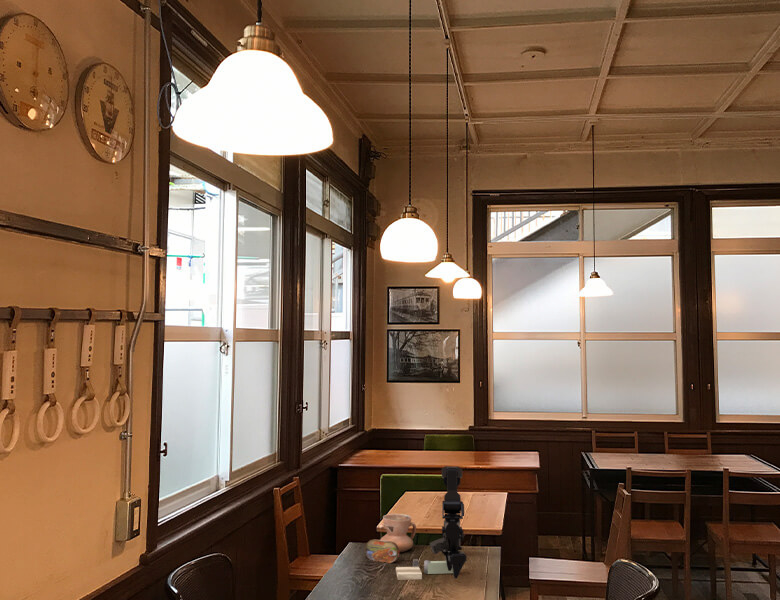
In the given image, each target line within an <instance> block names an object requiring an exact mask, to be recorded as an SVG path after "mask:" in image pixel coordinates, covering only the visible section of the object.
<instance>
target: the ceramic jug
mask: <svg viewBox="0 0 780 600" xmlns="http://www.w3.org/2000/svg"><path fill="white" fill-rule="evenodd" d="M382 520H383V524H378V528H379V529H384V530H385V532H386V534H385V535H384V536H382V537H381V538H380V540H385V541H392V542H394V543H396V544H397V546H398V547H399V553H403V552H407V551H408V550H410V549H412V547H413V546H414V541H413V539H414V537H415V535H416V533H417V525H416V523H415V522H413V521H412V516H410V515H408V514H404V513H388V514H385V515H383V516H382ZM410 527H412V531H411V533H410V534H411V535H410V536H409V535H408V534H407V533H408V530H409V528H410Z"/></svg>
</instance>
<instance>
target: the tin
mask: <svg viewBox="0 0 780 600" xmlns="http://www.w3.org/2000/svg"><path fill="white" fill-rule="evenodd" d="M364 552H365V556H366V557H367V559H368V560H370V561H372V560H373V561H372V562H378V561H379V562H378V563H384V562H386V564H392V563H394V562H396V561H398V558H399V557H400V552H399V547H398V546H397V544H396V543H394V542H392V541H385V540H381V539H375V538H374V539H370V540H369V541H367V542H366V544H365V547H364Z"/></svg>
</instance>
